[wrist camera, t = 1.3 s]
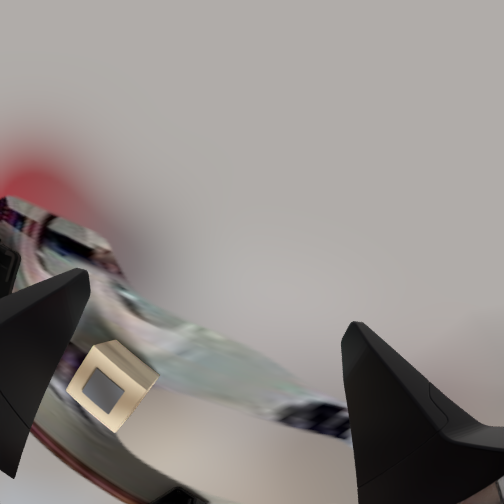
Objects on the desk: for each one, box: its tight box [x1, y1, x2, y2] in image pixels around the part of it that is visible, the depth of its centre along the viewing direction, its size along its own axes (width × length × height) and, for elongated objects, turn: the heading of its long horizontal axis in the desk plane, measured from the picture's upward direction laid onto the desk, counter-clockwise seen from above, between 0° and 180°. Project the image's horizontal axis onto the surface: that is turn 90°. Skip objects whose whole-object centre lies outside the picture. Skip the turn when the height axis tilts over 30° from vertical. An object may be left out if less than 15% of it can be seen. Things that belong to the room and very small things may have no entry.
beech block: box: [66, 340, 160, 433], centre depth 19 cm, size 5×5×5 cm
